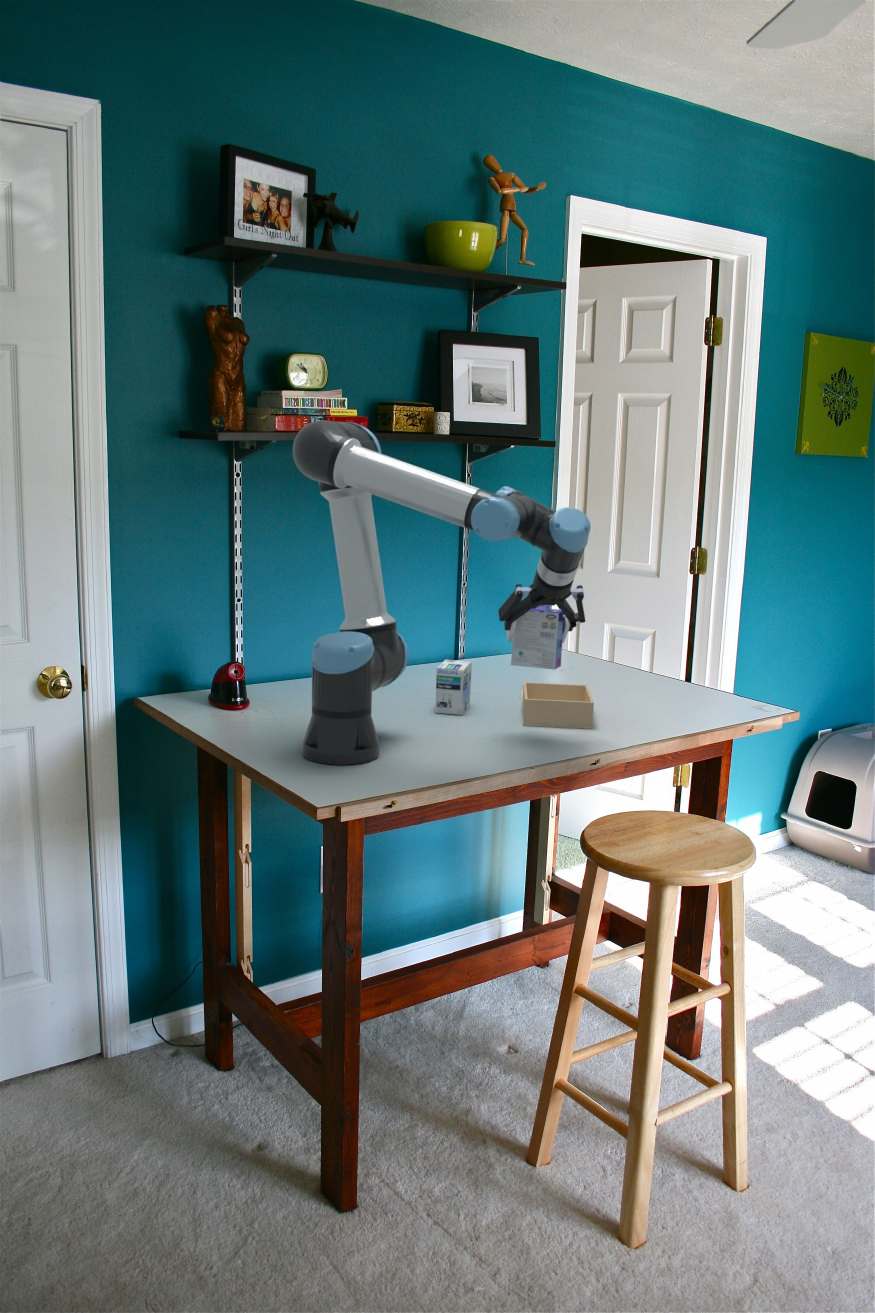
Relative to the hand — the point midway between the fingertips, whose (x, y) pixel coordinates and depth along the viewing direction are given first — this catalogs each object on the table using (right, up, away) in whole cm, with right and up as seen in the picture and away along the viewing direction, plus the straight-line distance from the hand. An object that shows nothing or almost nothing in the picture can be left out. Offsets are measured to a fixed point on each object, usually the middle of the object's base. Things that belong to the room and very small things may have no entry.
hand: (535, 637), depth 211 cm
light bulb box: (-17, -17, +22) cm, 33 cm away
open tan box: (+7, -16, +28) cm, 33 cm away
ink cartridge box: (0, -6, -2) cm, 7 cm away
